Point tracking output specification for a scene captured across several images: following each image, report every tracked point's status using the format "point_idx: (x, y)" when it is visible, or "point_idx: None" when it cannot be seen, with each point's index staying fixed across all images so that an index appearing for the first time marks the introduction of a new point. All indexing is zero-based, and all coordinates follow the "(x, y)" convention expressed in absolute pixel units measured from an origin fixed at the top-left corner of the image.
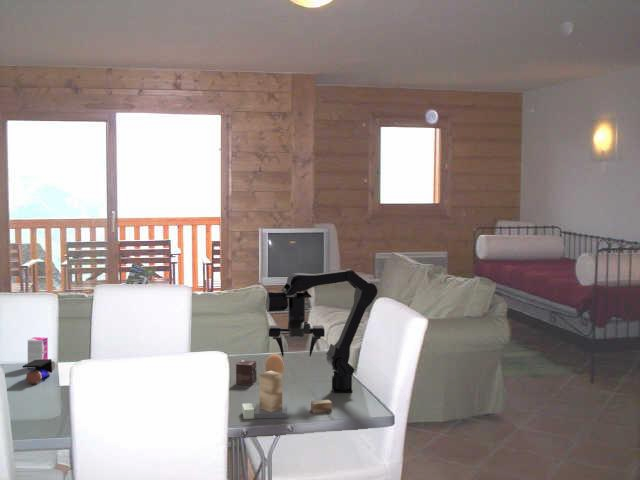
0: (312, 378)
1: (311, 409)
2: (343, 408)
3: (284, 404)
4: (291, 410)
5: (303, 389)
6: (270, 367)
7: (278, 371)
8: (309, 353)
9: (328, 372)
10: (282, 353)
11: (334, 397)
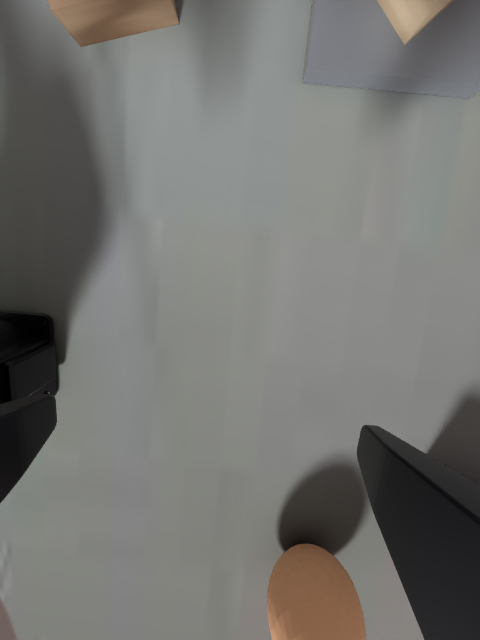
0: (144, 526)
1: (174, 4)
2: (2, 34)
3: (326, 38)
4: (284, 27)
5: (193, 382)
6: (342, 586)
7: (296, 560)
8: (36, 429)
9: (75, 590)
10: (394, 439)
11: (50, 240)
